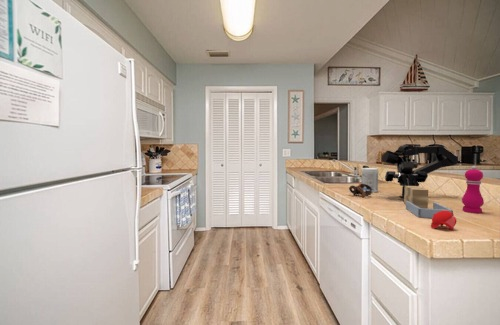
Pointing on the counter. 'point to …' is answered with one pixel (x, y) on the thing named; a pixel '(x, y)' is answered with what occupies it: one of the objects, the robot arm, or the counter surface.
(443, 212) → the cap
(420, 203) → the oak block
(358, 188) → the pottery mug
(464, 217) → the counter surface
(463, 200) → the pepper mill
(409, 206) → the box
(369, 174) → the supplement tub
